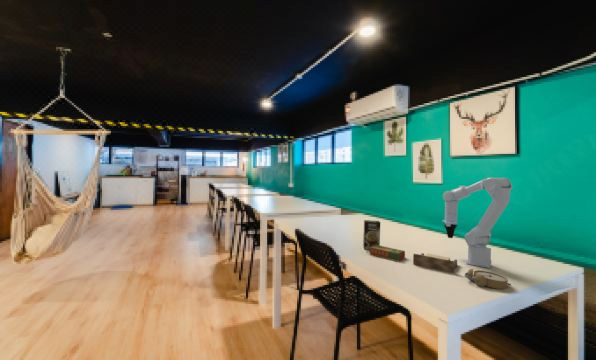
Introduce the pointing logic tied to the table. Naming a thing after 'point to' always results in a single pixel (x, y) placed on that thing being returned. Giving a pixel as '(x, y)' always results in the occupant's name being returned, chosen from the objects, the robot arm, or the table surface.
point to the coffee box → (371, 234)
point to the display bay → (434, 262)
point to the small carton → (438, 256)
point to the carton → (387, 252)
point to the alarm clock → (487, 279)
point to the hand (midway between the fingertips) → (450, 237)
